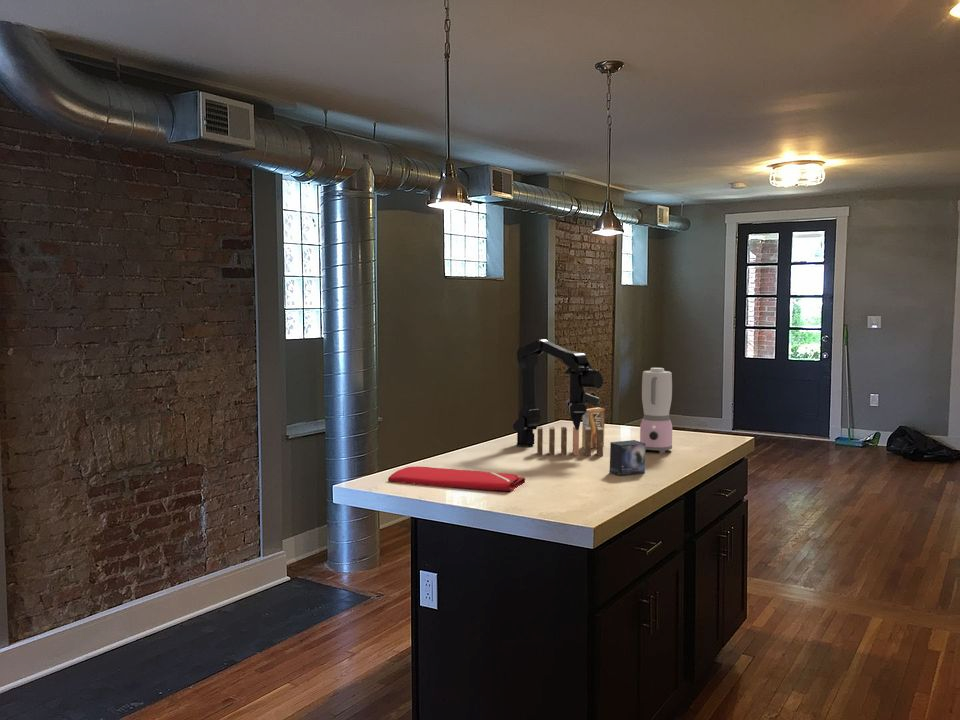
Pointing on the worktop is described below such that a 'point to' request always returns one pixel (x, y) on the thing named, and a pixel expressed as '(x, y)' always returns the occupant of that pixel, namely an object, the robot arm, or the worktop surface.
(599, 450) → the domino
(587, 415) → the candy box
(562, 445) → the domino
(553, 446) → the domino
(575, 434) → the domino
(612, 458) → the small box
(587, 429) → the domino
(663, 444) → the blender
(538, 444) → the domino
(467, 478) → the dish drying mat
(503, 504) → the worktop surface
